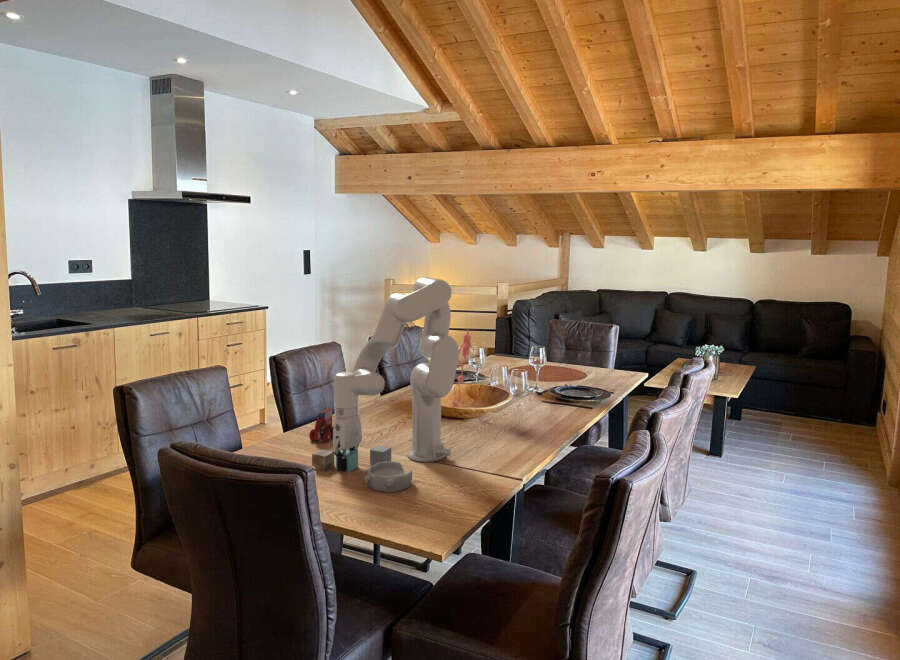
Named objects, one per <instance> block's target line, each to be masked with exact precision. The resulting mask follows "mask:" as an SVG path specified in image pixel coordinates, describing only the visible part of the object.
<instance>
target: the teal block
mask: <svg viewBox="0 0 900 660" xmlns="http://www.w3.org/2000/svg"><path fill="white" fill-rule="evenodd" d="M340 452H341V453H343V450H340ZM345 458H347V470H346V471H345V472H348V473H350V472H352V471H354V470H355V469H357V468H359V451H358V452H356V451H350V450H346V456H345ZM335 467H336V469H335V470H338V469H337V458H336V457H335ZM338 471H339V470H338Z"/></svg>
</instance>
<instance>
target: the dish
mask: <svg viewBox="0 0 900 660" xmlns="http://www.w3.org/2000/svg"><path fill="white" fill-rule="evenodd" d="M412 478H413V470H412V469H410V470H409V471H408V472H406V471H405V469H404V467H403V465H402V463H401V462H398V461H393V460H391V461H388V462H380V463H376V464H375V465H371V466H370V467H369V468H368V470H367V475H365V476H363V481H364V483H365V484H366V485H367V484H368V487H370V489H372V490H375V491H379V492H385V493H386V492H387V493H389V492H390V493H393V492H399V491H403V490H405V489H408V488H409V487H410V486H411V484H412Z"/></svg>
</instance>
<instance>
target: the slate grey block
mask: <svg viewBox="0 0 900 660" xmlns="http://www.w3.org/2000/svg"><path fill="white" fill-rule="evenodd" d="M388 461H392V447H388V446H383V445H376V446H375V447H372V448H371V449H369V464H371V466H372V465H375V464H376V463H380V462H388Z"/></svg>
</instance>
